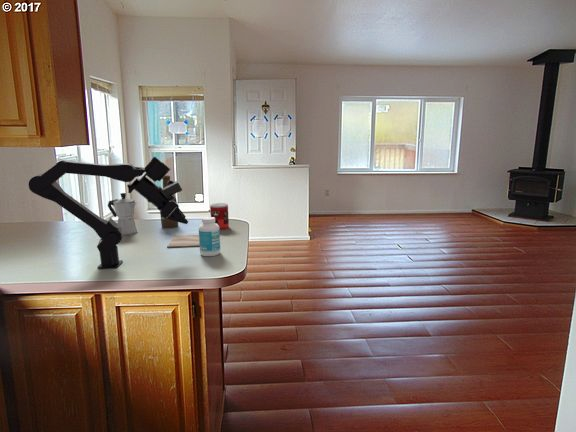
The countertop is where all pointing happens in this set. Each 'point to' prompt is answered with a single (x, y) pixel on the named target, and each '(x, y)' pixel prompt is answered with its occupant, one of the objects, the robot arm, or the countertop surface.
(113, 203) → the coffee maker
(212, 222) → the pill bottle
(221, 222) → the canned food
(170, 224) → the beer bottle
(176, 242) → the walnut board
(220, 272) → the countertop surface
